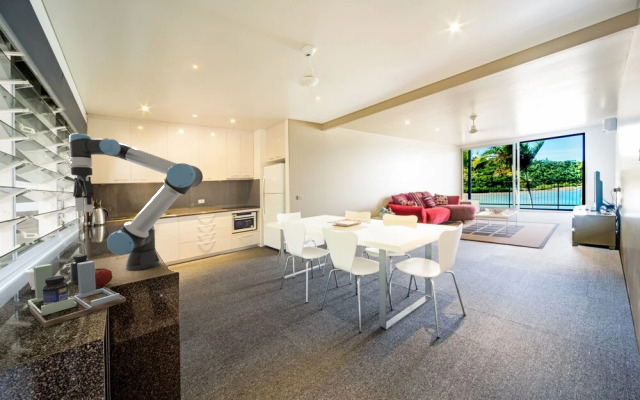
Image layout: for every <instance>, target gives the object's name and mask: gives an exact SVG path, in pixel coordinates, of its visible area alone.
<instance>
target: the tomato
mask: <svg viewBox="0 0 640 400" xmlns="http://www.w3.org/2000/svg"><path fill="white" fill-rule="evenodd" d="M112 279H113V273H112V271H111V270H110V269H108V268H105V267H101V268H100V267H99V268H95V282H96V288H100V287H102V288H103V287H105V286H106V285H108V284H109V283H110V282H112Z"/></svg>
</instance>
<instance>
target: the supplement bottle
mask: <svg viewBox="0 0 640 400" xmlns="http://www.w3.org/2000/svg"><path fill="white" fill-rule="evenodd" d="M88 261H90V260H89V259H88V254H86V253H84V254H83V253H82V254H76V255H73V256H72V262H71V263H70V264H69V269H70V270H69V271H70V273H69V274H70V283H71V284H78V268H77V263H82V262H88Z"/></svg>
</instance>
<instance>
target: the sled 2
mask: <svg viewBox="0 0 640 400" xmlns="http://www.w3.org/2000/svg"><path fill="white" fill-rule="evenodd" d="M77 268H78V283H77V284H78V294H76V295H72V296H73V297H74V298H76V299H77V300H78V301H80V302H81V303H83V304H84V305H86V306H87V307H89V308H91V307H94V306H97V305H100V304H104V303H107V302H110V301H114V300H117V299H120V295H121V294H120V293H117V292H116V293H117V294H113V293H111V292H109V291H107V290H105V289H103V287H102V288H98V289H97V287H96V282H95V269H96V267H95V261H93V260H89V261H88V262H82V263H77ZM100 293H103V294H105V295H107V296H103V297H100V298H97V299H93V300H90V304H88V303H87V302H85V301H84V300H82V298H85V297H89V296H92V295H96V294H100ZM119 294H120V295H119Z"/></svg>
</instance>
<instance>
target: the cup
mask: <svg viewBox="0 0 640 400" xmlns="http://www.w3.org/2000/svg"><path fill="white" fill-rule="evenodd" d="M25 274H26V275H25V276H26V278H27V281H28V284H29V286H30V288H31V289H30V290H31V291H35V282H34V268H31V269H28V270H25Z"/></svg>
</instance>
